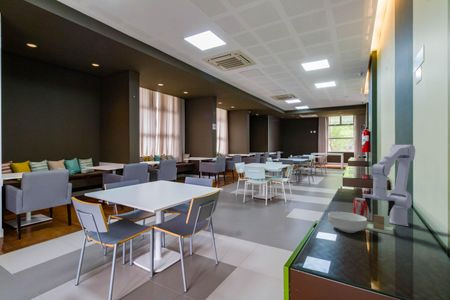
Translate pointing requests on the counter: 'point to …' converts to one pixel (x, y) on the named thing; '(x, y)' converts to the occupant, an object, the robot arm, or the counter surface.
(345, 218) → the cereal bowl
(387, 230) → the tray
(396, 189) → the robot arm
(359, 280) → the counter surface
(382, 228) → the walnut block
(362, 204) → the soda can
